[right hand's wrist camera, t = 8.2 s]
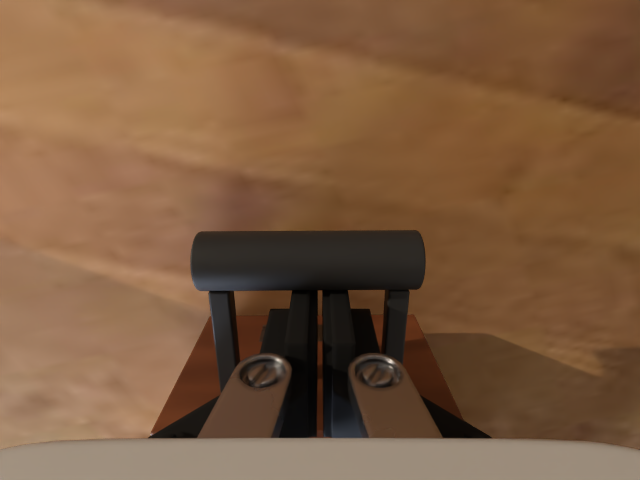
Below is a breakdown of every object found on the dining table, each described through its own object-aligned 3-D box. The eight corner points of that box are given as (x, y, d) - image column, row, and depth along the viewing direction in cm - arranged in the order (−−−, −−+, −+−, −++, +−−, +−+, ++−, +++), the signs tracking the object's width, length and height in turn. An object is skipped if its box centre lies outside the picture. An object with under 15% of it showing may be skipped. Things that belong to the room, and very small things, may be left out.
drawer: (195, 196, 14) (112, 256, 8) (426, 194, 14) (500, 254, 8) (239, 554, 21) (211, 716, 16) (390, 552, 22) (417, 713, 16)
